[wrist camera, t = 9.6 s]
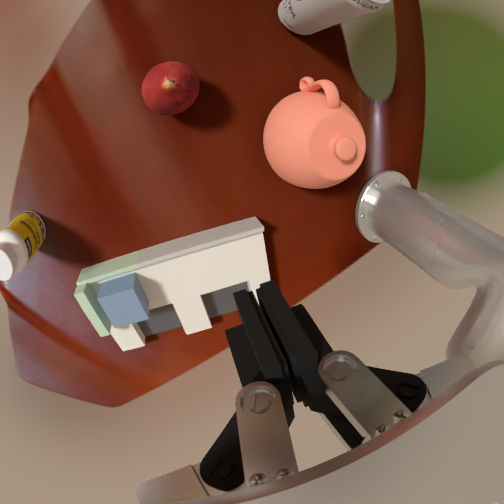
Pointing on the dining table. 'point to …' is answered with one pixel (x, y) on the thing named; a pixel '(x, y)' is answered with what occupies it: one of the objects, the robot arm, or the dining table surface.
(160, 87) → the onion
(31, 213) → the supplement bottle
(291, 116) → the sugar bowl
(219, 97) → the dining table surface
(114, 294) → the block
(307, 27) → the energy drink can
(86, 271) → the box
